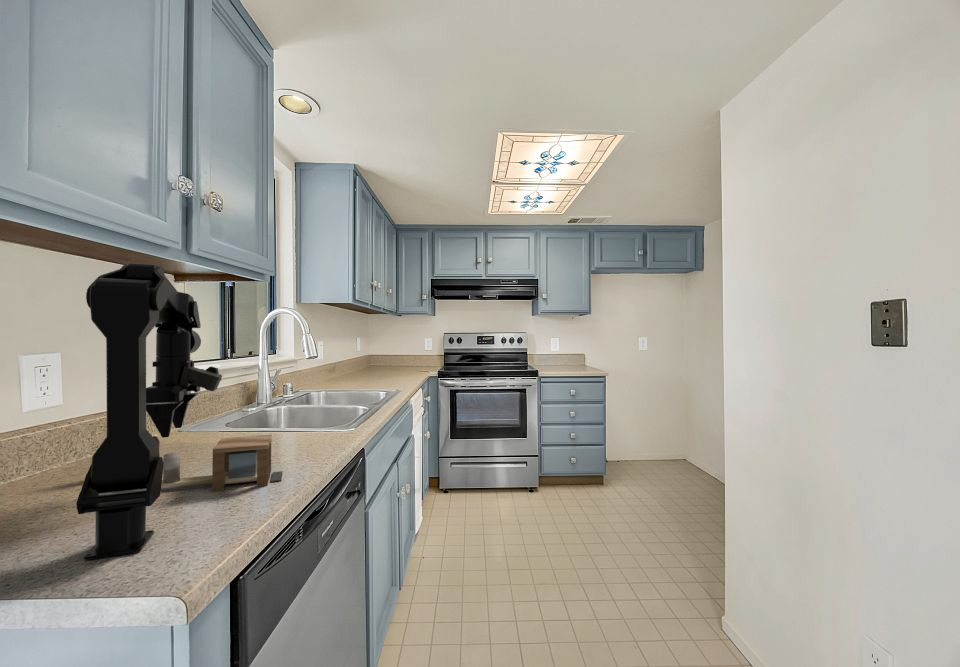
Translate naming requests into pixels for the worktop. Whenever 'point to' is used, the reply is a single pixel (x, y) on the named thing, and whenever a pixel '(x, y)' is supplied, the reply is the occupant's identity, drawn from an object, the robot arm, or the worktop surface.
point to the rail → (170, 488)
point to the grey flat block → (276, 476)
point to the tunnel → (241, 444)
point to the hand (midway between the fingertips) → (172, 432)
